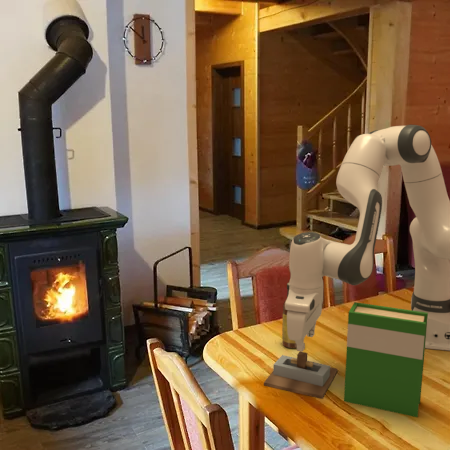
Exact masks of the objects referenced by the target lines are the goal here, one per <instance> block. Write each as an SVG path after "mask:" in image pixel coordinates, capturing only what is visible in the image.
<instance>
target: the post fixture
mask: <svg viewBox="0 0 450 450" xmlns="http://www.w3.org/2000/svg"><path fill="white" fill-rule="evenodd" d="M294 358H295V357H293V358H292V359H291V363H294V364H297V367H298V368H302V369H306V370H307V366H308V367H313V362H314V361H311V362H309V361H310V360H308V352H305V351H302V352H301V351H298V353H297V355H296V358H297V359H294ZM337 373H338V368H336V367H332V366H330V377H329V378H328V379H327V381H326V382H325V384H324V385H323V387H322V386H318V385H314V384H310V383H306V382H302V381H298V380H294V379H290V378H286V377H282V376H278V375H274V374H273V371H271V373H270V374H269V375H268V376H267V378H266V379H265V381H264V382H263V386H265V387H270V388H274V389H279V390H283V391H287V392H291V393H296V394H301V395H305V396H309V397H314V398H317V399H321V400H322V399H324V398H325V395H326V393H327V391H328V390H329V388H330V386H331V385H332V382H333V381H334V378H335V376H337Z"/></svg>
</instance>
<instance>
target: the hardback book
mask: <svg viewBox="0 0 450 450" xmlns="http://www.w3.org/2000/svg"><path fill="white" fill-rule="evenodd" d="M427 318H428V313H426V312H419V311H412V310H411V309H405V308H397V307H391V306H383V305H376V304H369V303H364V302H356V301H354V302H353V303H352V306H351V307H350V309H349V311H348V316H347V332H346V333H347V335H346V336H347V338H346V339H347V340H346V357H345V371H344V372H345V375H344V376H345V377H344V393H343V394H344V395H343V401H344V402H345V403H350V404H354V405H359V406H363V407H368V408H371V409H372V408H373V409H378V410H383V411H386V412H392V413H396V414H401V415H405V416H409V417H414V418H418V416H419V405H420V404H421V397H422V385H423V374H424V362H425V352H426V351H425V350H426V348H425V341H426V329H427Z"/></svg>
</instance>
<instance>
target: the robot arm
mask: <svg viewBox="0 0 450 450" xmlns="http://www.w3.org/2000/svg"><path fill="white" fill-rule="evenodd" d="M398 165H399V166H400V168H401V174H402V179H403V182H404V183H403V184H404V187H405V191H406V194H407V195H406V196H407V199H408V202H409V206H410V207H411V209H412V212H413V213H414V215H415V217H414V218H413V220H412V221H411V222H410V225H409V234H410V236H411V240H412V252H413V257H414V258H413V259H414V260H413V261H414V270H415V271H414V287H413V291H412V294H411V299H410V310H412V311H419V312H426V313H428V318H427V329H426V341H425V349H431V350H441V351H450V198H449V196H448V192H447V191H448V190H447V187H446V184H445V179H444V176H443V175H444V174H443V172H442V168H441V164H440V161H439V159H438V156H437V153H436V150H435V149H434V147H433V145H432V139H431V135H430V134H429V132H428V131H427V129H426V128H425V127H424V126H422V125H417V124H406V125H395V126H389V127H387V128H383V129H379V130H378V129H376V130H373V131H370V132H368V133H363V134H360V135H357V136H356V137H355V138H354V140H353V141H352V143H351V145H350V146H349V148H348V150H347V152H346V154H345V155H344V158H343V160H342V162H341V165H340V167H339V169H338V172H337V175H336V182H335V184H336V188H337V191H338V193H339V195H341V196H342V197H343V199H345V200H346V201H347V202H348V203H350V204H351V205H353V206H354V207H356V208H357V209H358V211H359V219H358V224H357V229H356V233H355V239H354V241H353V243H352V244H347V243H343V242H337V241H335V240H330V239H326V238H324V237H322V236H321V235H320V233H317V232H313V231H307V232H301V233H299V234H296V235H295V236H294V237H293V238H292V240H291V242H290V249H289V260H288V261H289V263H288V264H289V266H288V267H289V272H290V279H289V280H288V281H289V282H288V283H289V294H288V297H287V296H286V297H287V298H286V299H287V300H286V299H285V301H286V302H285V301H284V302H285V309H286V310H288V312H287V331H288V337H289V339H290V340H294V341H295V342H296V345H297V348H296V351H297V352H304V350H305V348H306V347H305V346H306V344H305V342H304V341H305V337H309V338H313V337H314V336H315V329H316V326H317V325H316V324H317V321H318V319H319V318H320V317H321V315H322V309H323V305H322V304H323V302H324V280H323V277H328V278H332V279H335V280H339V281H341V282H343V283H346V284H348V285H351V286H358V285H360V284H362V283H364V282H365V281H367V280H368V279H369V278H370V277H371V275H372V274H373V270H374V261H375V260H374V259H375V258H374V257H375V250H376V249H375V247H376V242H377V236H378V232H379V226H380V221H381V216H382V215H381V214H382V209H383V197H382V193H380V192H379V190H378V189H379V188H378V187H379V186H378V185H379V181H380V179H381V178H380V177H381V174H382V171H383V168H384V166H387V167H388V166H389V167H390V166H393V167H395V166H398Z"/></svg>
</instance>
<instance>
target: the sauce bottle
mask: <svg viewBox="0 0 450 450" xmlns="http://www.w3.org/2000/svg"><path fill="white" fill-rule="evenodd" d="M286 289H287V291H286V292H287V294H286V297H288V294H289V282H287V283H286ZM286 300H287V298H286V299H285V300H284V303H283V305H282V307H283V308H282V323H281V324H282V327H281V328H282V329H281V331H282V332H281V334H282V335H281V340H282V343H281V344H282V346H284V347H286V348H288V349H297V345H296V342H295V341H294V340H290V339H289V337H288V331H287V312H288V310H286V309H285V302H286Z"/></svg>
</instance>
